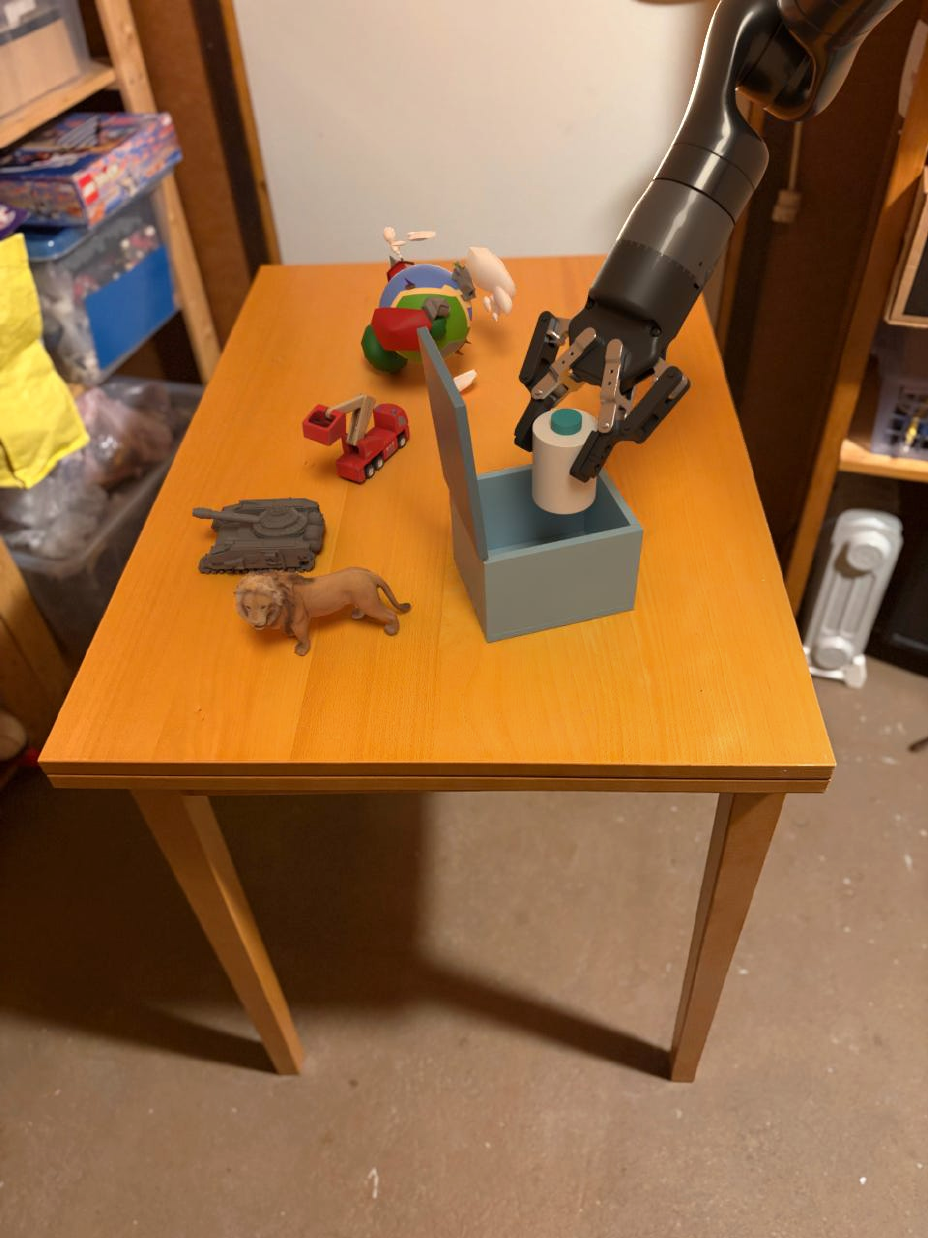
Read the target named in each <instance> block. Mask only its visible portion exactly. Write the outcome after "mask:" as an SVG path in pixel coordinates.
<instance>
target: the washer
mask: <svg viewBox="0 0 928 1238" xmlns="http://www.w3.org/2000/svg"><path fill="white" fill-rule="evenodd" d="M476 476H477V482H478V489H479V496H480V502H481V509H482V516H483V522H484V529H485V536H486V542H487V549H488V556H489V558H487V559H483V560H479V558H478V556H477V554H476V551H475V549H474V547H473V544H472V542H471V540H470V537H469V535H468V533H467V530H466V528H465V526H464V523H463V521H462V519H461V516H460V514H459V512H458V509H457V507H456V505H455V502H454V500H453V498H452V495H451V493H450V491H449V490H448V494H449V495H448V496H449V497H448V498H449V508H450V509H449V511H450V524H451V538H452V552H453V553H452V554H453V560H454V563H455V565H456V568H457V570H458V573H459V575H460V577H461V580H462V583H463V585H464V588H465V591H466V593H467V595H468V599H469V600H470V603H471V605H472V608H473V610H474V613H475V615H476V618H477V620H478V623H479V625H480V628H481V630H482V632H483V635H484V638H485V641H486V643H487V644H490V643H494V642H499V641H502V640H507V639H512V638H515V637H519V636H524V635H529V634H533V633H538V632H543V631H547V630H550V629H554V628H559V627H563V626H567V625H568V626H569V625H572V624H576V623H580V622H581V623H582V622H585V621H589V620H595V619H598V618H603V617H607V616H612V615H615V614H621V613H624V612H629V611H633V610H635V605H636V604H635V602H636V595H637V587H638V579H639V571H640V561H641V554H642V545H643V539H644V538H643V537H644V528H643V526H642V525H641V523H640V522H639V520H638V519H637V516H636V515H635V514H634V512H633V511H632V509H631V508H630V506H629V505H628V503H627V501H626V500H625V498H624V496H623V495H622V493H621V491H619V489H618V487H617V486H616V484H615V483H614V481H613V479H612V478H611V476H610V475H609V474H608V472H607V470H606V469H605V467H604V466H603V467H602V469H601V471H600V473H599V474H598V475H597V479H596V494H595V499H594V501H593V503H592V504H591V505H590V506H589V507H588V508H586V509H584V510H582V511H580V512H577V513H572V514H556V513H551V512H548V511H546V510H544V509H542V508H540V507H539V506H538V505H537V504H536V503H535V502H534V500H533V497H532V463H527V464H522V465H518V466H517V465H516V466H513V467H507V468H502V469H498V470H493V471H487V472H482V473H476Z"/></svg>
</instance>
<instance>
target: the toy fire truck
mask: <svg viewBox="0 0 928 1238" xmlns="http://www.w3.org/2000/svg"><path fill="white" fill-rule="evenodd" d="M376 403H377V399H376V398H375V397H372V396H370V395H367V394H363V393H361V392H358V393H357V394H356V396H354V397H352V398H349V399H347V400H345V401H342V402H340V403H337V404H335V405H334V406H331V407H329V406H327V405H324V404H321V403H317V404H316V405H315V407H313V409H312V410H311V411H310V412H309V413H308V414H307V416H306V417H305V418H304V420H302V421H301V427H302V433H303V434H302V435H303V438H304V439H307V440H310V441H313V442H316V443H318V444H322V445H324V446H327V447H331V446H332V445H333V444H335V443H336V442H338V441H339V440H340V439H341V447H342V452H343V453H342V455H340V456H339V457H338V458H337V459H336V460H335V467H336V471H337V475H338V477H342V478H343V479H344V478H345V479H348V480H350V481H354V482H356V483H363V482H365V480H366V478H368V479H371V478H372V477H373V476H374V474H375V470H380V469H382V467H383V466H384V461H387V460H388V459H389V458H391V456H392V455H393V454H394V453H395V452H397V450H398V449H399V448H400V449H401V448H404V447H405V445H406V443H407V441H408V439H410V437H411V435H410V434H411V431H410V426H409V418H408V414H407V412H406V411H405V410H404V408H402V407H401V406H399V405H398V404H394V403H390V402H389V403H387V402H386V403H379V404H378V405H376ZM350 413H351V417H350V420H349V427H348V431H347V415H348V414H350ZM372 416H373V425H374V426H373V427H372V428H371V429H369V430H368V427H369V424H370V422H371V421H370V420H371V418H372ZM367 430H368V431H367Z"/></svg>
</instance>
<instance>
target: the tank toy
mask: <svg viewBox="0 0 928 1238" xmlns="http://www.w3.org/2000/svg"><path fill="white" fill-rule="evenodd" d="M191 516H192V517H193V518H196V519H200V520H212V522H211V525H210V528H211V529H212V530H213V531H217V532H218V533H217V536H216V538H215V543H214V545H212V546H210V550H209V551H208V553H205V554H204V555H203V556H202V557H201V559H200V560H199V562H198V566H197V569H198V571H199V572H201V573H203V572H204V573H205V574H207V575H208V574H210V572H211V574H212V575H213V574H214V575H215V574H217V573H219V574H225V571H226V574H233V572H234V574H240V572H242V574H248V572H250V573H252V572H257V571H262V570H267V571H268V570H273V571H276V570H277V571H280V570H282V571H284V572H290V573H296V570H297V573H304V572H305V570H306V572H309V571H311V569H313V568H314V565H315V560H316V553H317V552H319V551H320V549H321V548H322V545H323V534H324V533H325V531H326V522H325V518H324V513H322V512H321V509H320V505H319V502H318V501H315V500H312V499H309V498H307V497H291V496H289V497H280V498H258V499H257V498H256V499H254V498H253V499H240V500H238V503H233V504H228V505H224V506H222V507H221V510H214V509H212V508H207V507H200V506H198V507H193V508H192V514H191Z"/></svg>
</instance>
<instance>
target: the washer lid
mask: <svg viewBox="0 0 928 1238" xmlns="http://www.w3.org/2000/svg"><path fill="white" fill-rule="evenodd" d="M417 335H418V340H419V346H420V351H421V356H422V362H421V363H422V367H423V373H424V377H425V383H426V389H427V395H428V400H429V405H430V410H431V416H432V423H433V427H434V432H435V438H436V443H437V450H438V454H439V461H440V466H441V471H442V476H443V480H444V481H445V483H446V487H447V489H448V492H449V491H450V493H451V495H452V498H453V500H454V502H455V505H456V507H457V509H458V512H459V514H460V516H461V519H462V521H463V523H464V526H465V528H466V530H467V533H468V535H469V537H470V540H471V542H472V544H473V547H474V549H475V551H476V554H477V556H478V558H479V560H483V559H487V558H489V556H488V549H487V542H486V536H485V529H484V522H483V516H482V509H481V502H480V496H479V489H478V482H477V476H476V475H477V469H476V463H475V456H474V449H473V444H472V443H473V442H472V437H471V430H470V424H469V417H468V409H467V404H466V402H465V399H463V396H462V394H461V391H459V390H458V388H457V386H456V384H455V382H454V380H453V379H454V377H453V376H452V375H451V373H450V370H449V369H448V367H447V364H446V363H445V361H444V360H445V359H443V358H442V356H441V354H440V352H439V350H438V349H437V347H436V345H435V343H434V341H433V339H432V337H431V335H430V333H429V331H428V329H427V327H426V326H425V327H421V328H417Z"/></svg>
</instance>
